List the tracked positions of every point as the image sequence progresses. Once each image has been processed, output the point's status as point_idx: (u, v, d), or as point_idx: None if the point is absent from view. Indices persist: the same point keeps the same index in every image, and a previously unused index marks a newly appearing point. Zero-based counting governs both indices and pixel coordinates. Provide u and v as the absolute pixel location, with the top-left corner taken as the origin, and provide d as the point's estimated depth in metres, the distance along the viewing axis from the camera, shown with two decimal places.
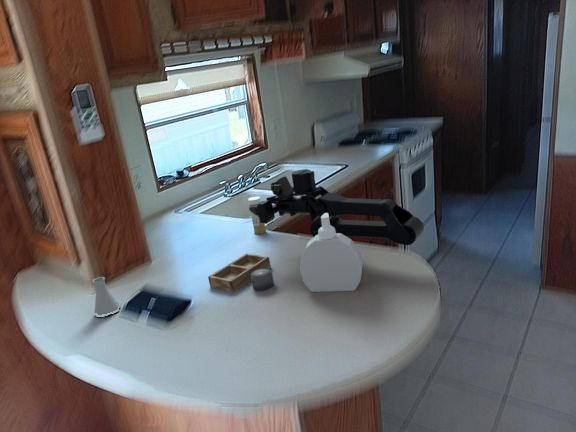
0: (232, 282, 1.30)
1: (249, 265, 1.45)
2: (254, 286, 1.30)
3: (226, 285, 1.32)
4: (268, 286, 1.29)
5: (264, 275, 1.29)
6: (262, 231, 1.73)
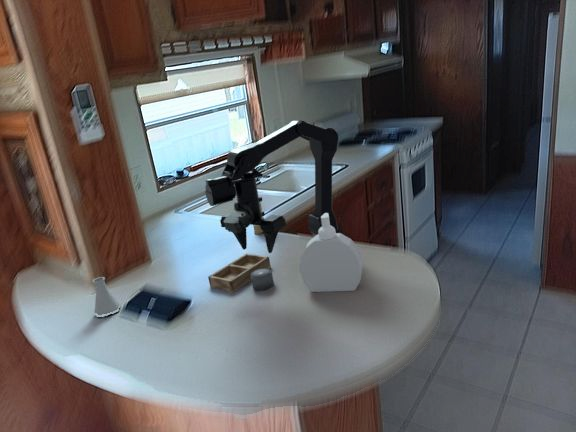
0: (232, 282, 1.30)
1: (249, 265, 1.45)
2: (254, 286, 1.30)
3: (226, 285, 1.32)
4: (268, 286, 1.29)
5: (264, 275, 1.29)
6: (262, 231, 1.73)
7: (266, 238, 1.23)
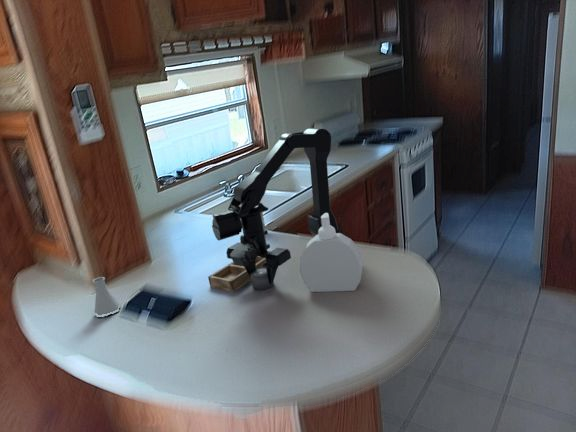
0: (232, 282, 1.30)
1: None
2: (254, 286, 1.30)
3: (226, 285, 1.32)
4: (268, 286, 1.29)
5: (264, 275, 1.29)
6: None
7: (267, 270, 1.27)
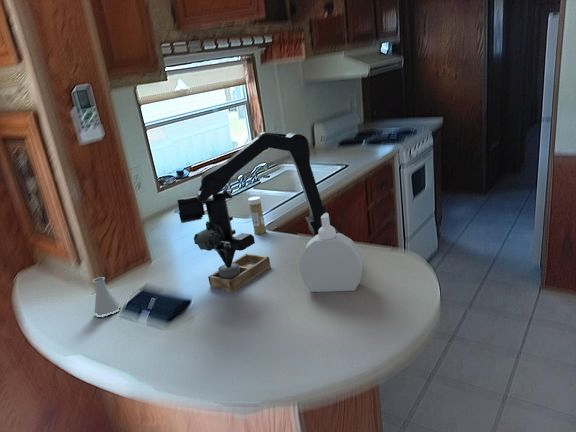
0: (232, 282, 1.30)
1: (249, 265, 1.45)
2: None
3: (226, 285, 1.32)
4: None
5: (231, 269, 1.33)
6: (262, 231, 1.73)
7: (224, 253, 1.32)
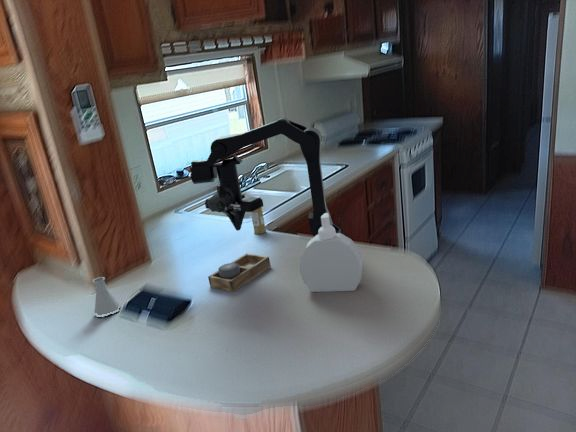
0: (232, 282, 1.30)
1: (249, 265, 1.45)
2: None
3: (226, 285, 1.32)
4: None
5: (231, 269, 1.33)
6: (262, 231, 1.73)
7: (234, 217, 1.39)
